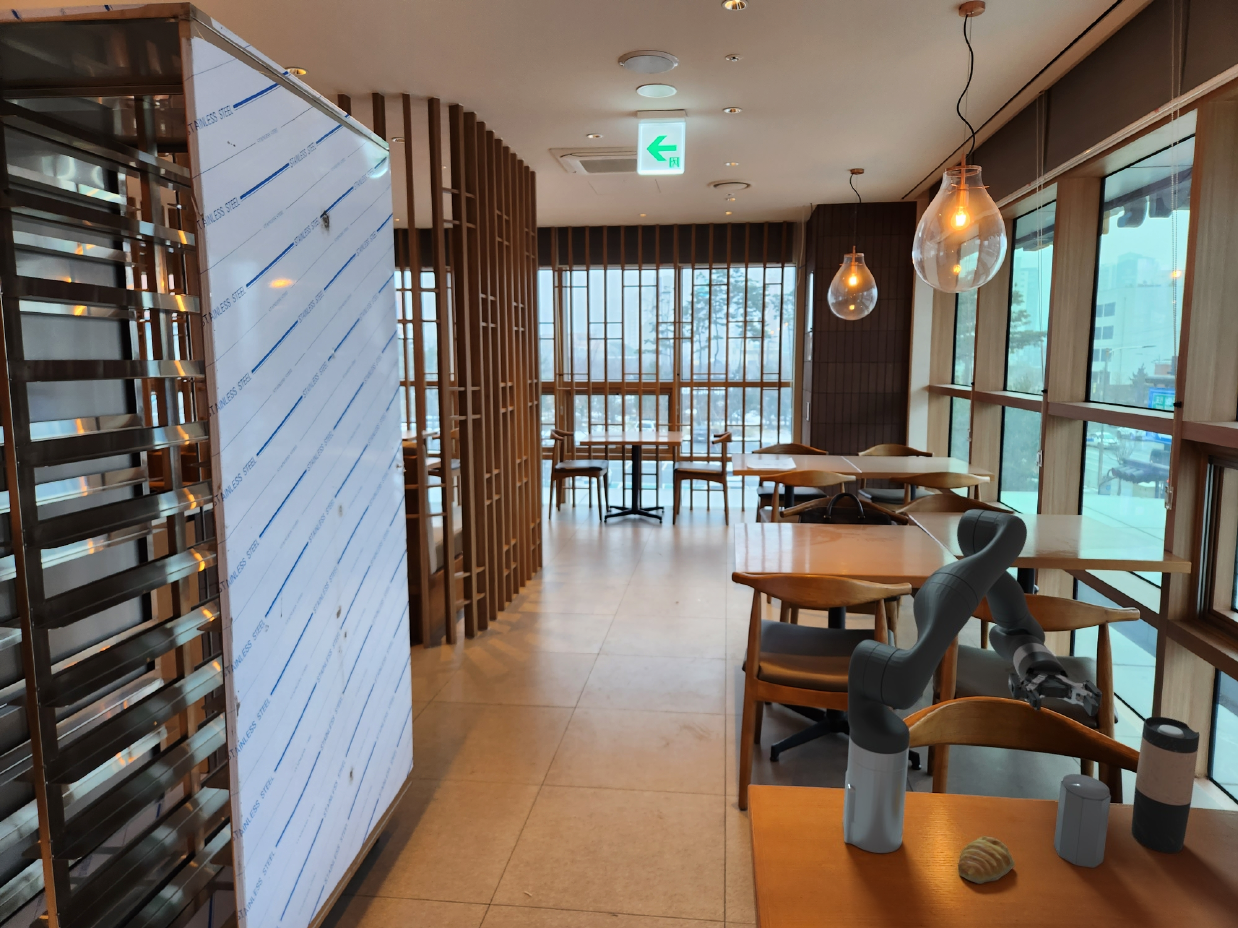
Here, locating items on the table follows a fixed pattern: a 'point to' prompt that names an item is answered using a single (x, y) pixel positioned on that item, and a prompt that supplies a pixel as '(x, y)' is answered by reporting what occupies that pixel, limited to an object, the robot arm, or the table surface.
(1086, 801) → the canister
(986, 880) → the pastry
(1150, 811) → the travel mug
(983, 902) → the table surface
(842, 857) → the table surface
